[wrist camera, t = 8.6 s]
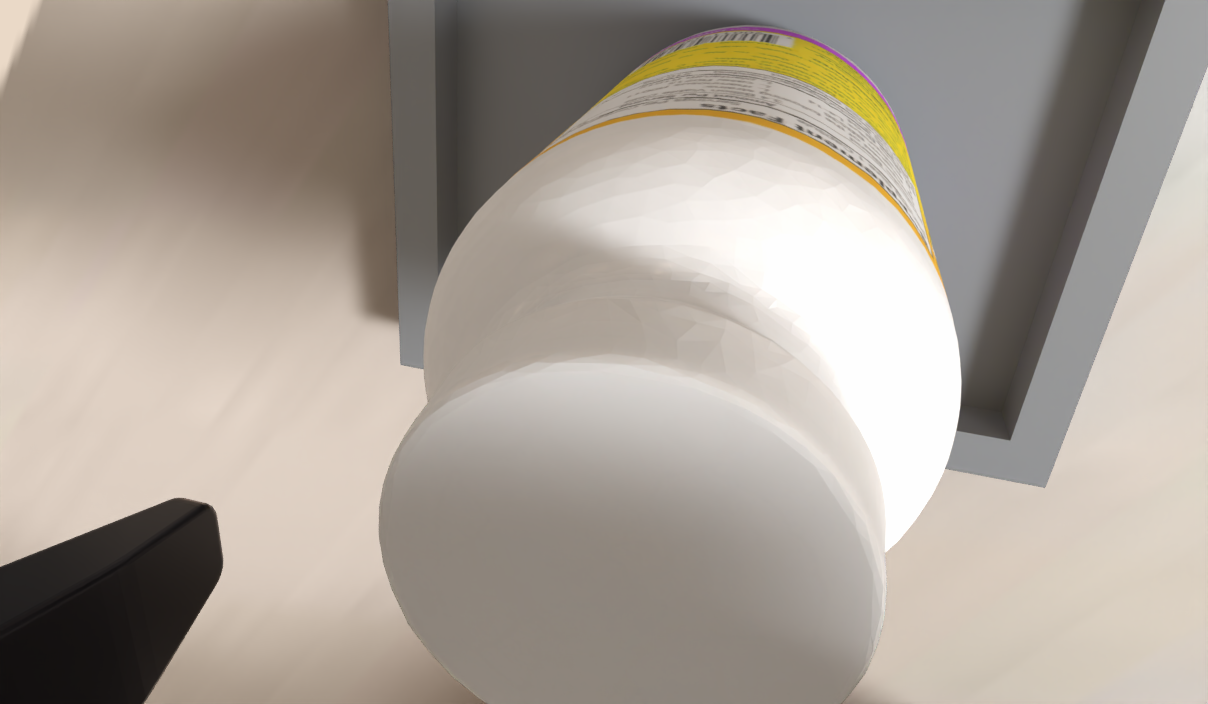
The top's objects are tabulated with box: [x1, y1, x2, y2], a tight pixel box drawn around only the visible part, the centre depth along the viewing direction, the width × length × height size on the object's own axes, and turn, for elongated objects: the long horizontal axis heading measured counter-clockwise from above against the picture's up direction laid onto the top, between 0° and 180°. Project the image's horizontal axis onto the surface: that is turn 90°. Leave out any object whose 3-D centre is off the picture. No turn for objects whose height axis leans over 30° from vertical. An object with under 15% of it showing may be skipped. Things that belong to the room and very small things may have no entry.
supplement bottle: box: [379, 25, 961, 704], centre depth 14 cm, size 7×7×13 cm
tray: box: [388, 0, 1208, 488], centre depth 19 cm, size 15×11×2 cm
